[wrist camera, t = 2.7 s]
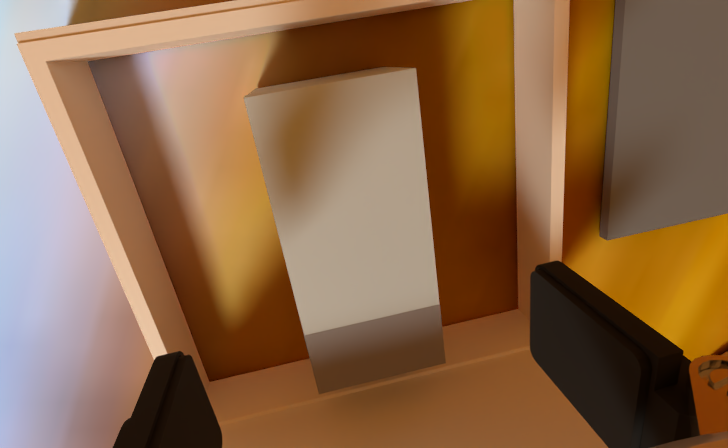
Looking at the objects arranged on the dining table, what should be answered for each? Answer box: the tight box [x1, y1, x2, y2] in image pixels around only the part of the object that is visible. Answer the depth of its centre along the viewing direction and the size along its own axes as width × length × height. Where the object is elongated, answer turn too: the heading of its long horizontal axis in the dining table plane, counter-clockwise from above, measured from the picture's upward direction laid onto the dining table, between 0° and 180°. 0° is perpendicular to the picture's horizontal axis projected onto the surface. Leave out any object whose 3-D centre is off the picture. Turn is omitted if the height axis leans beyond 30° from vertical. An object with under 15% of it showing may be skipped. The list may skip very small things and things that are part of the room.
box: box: [244, 67, 446, 394], centre depth 18 cm, size 6×12×5 cm, turn 9°
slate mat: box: [600, 0, 728, 240], centre depth 20 cm, size 11×17×1 cm, turn 9°
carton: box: [15, 0, 608, 448], centre depth 15 cm, size 19×18×11 cm
